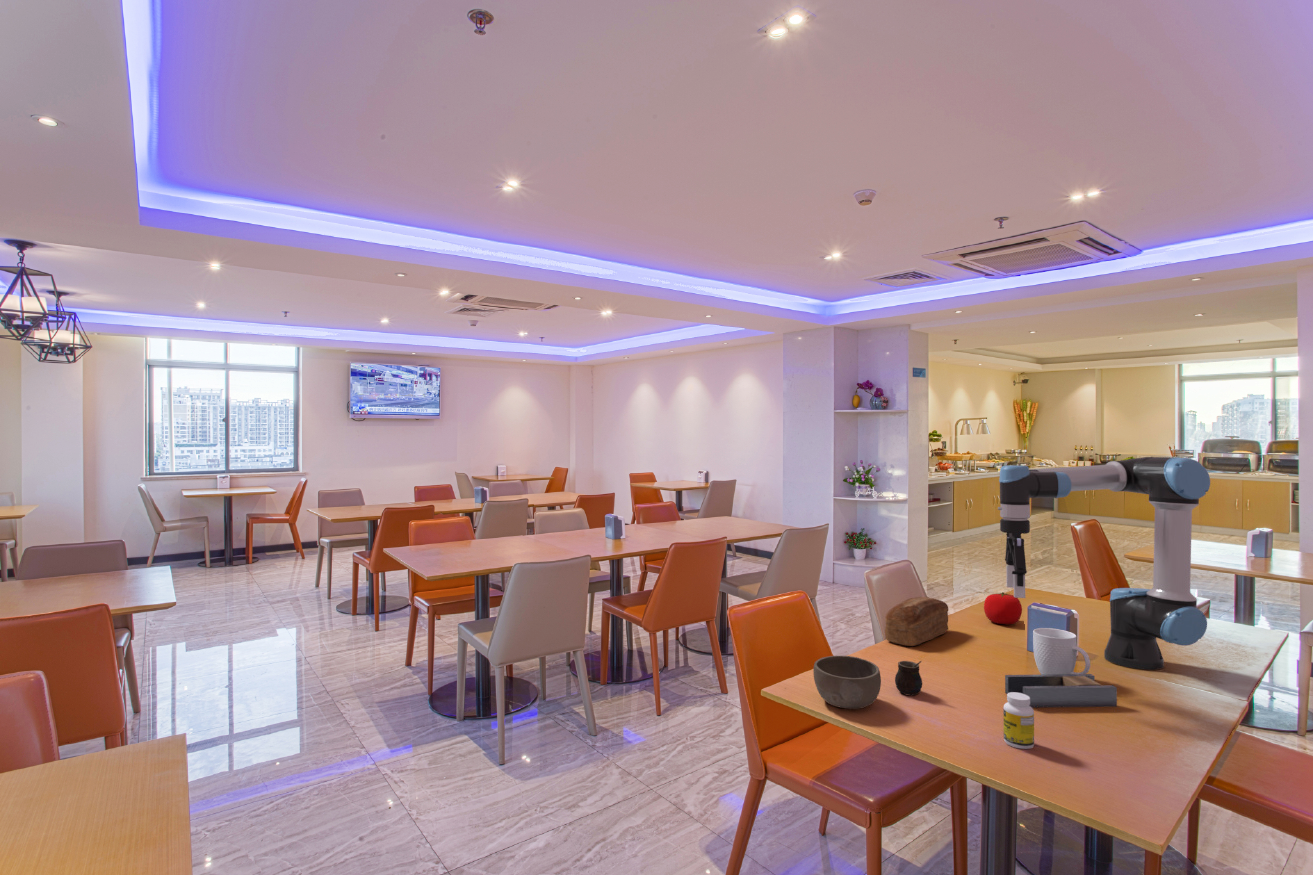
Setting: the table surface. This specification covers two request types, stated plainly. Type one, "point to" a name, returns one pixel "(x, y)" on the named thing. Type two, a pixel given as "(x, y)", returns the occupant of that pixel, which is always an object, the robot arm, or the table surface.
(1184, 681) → the table surface
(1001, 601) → the tomato
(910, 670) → the mate gourd
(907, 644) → the bread
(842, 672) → the bowl
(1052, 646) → the mug
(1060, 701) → the chute
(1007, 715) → the pill bottle
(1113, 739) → the table surface
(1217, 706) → the table surface
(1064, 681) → the block
